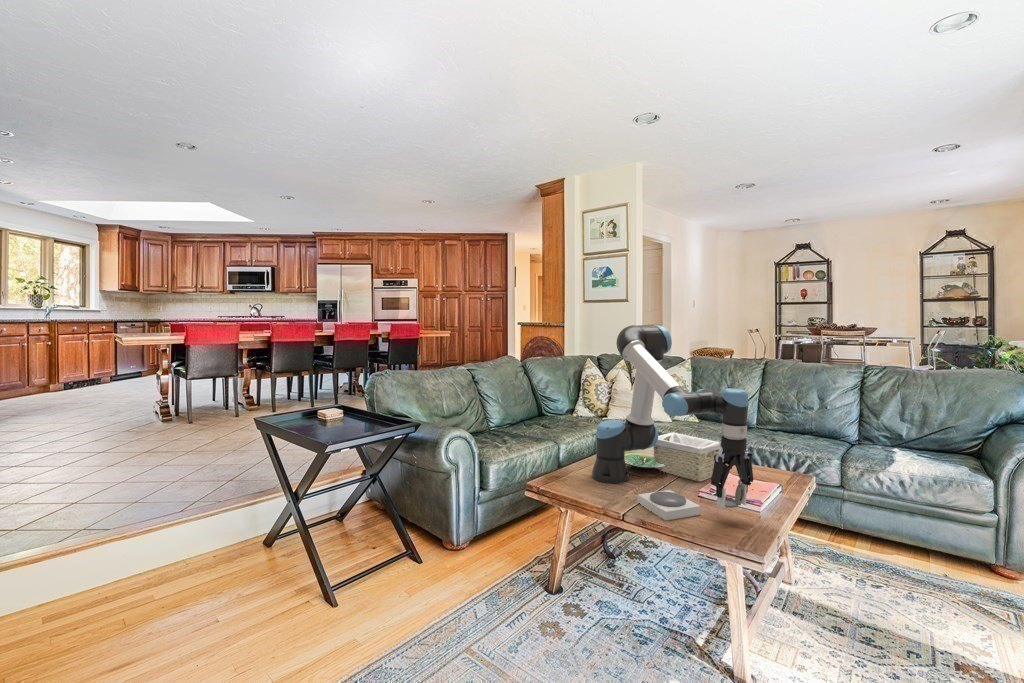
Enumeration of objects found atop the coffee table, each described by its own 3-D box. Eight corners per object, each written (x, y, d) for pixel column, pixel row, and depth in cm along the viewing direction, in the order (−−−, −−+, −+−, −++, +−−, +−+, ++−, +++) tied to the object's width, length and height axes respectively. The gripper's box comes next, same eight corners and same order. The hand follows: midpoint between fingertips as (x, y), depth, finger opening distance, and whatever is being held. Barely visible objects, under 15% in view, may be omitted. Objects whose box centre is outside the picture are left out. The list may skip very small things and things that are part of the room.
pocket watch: (713, 500, 157) (714, 471, 156) (739, 501, 156) (740, 472, 155) (721, 510, 149) (722, 479, 148) (749, 511, 148) (750, 481, 147)
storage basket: (650, 469, 206) (650, 436, 205) (671, 462, 216) (671, 431, 215) (700, 484, 187) (701, 448, 186) (721, 476, 197) (721, 441, 196)
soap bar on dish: (637, 502, 168) (637, 492, 168) (669, 497, 173) (669, 487, 173) (665, 520, 153) (665, 509, 153) (700, 514, 158) (700, 503, 158)
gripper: (716, 442, 144) (714, 514, 146) (768, 436, 151) (765, 505, 152) (699, 436, 151) (697, 504, 153) (749, 431, 158) (747, 496, 160)
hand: (731, 504), depth 153 cm, fingers closed on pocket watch, 8 cm apart
